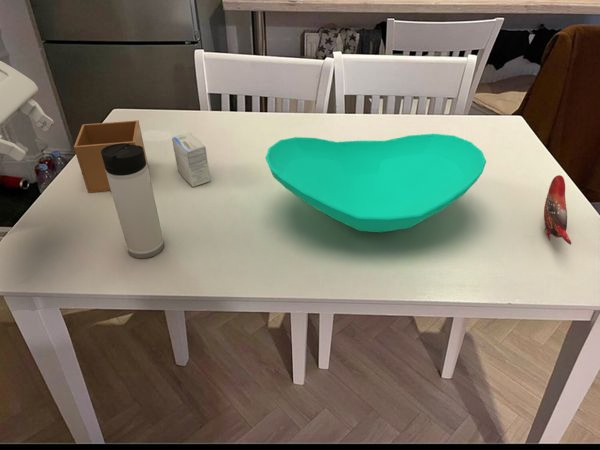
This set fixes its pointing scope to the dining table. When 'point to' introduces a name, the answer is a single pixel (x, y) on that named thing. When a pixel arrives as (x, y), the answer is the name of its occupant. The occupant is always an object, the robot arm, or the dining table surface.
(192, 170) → the medicine box
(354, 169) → the table top decor
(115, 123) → the brown open box
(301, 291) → the dining table surface
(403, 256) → the dining table surface
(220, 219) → the dining table surface
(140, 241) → the travel mug
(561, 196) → the decorative bird figurine
